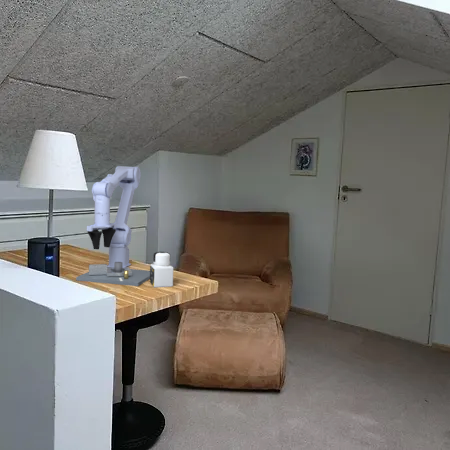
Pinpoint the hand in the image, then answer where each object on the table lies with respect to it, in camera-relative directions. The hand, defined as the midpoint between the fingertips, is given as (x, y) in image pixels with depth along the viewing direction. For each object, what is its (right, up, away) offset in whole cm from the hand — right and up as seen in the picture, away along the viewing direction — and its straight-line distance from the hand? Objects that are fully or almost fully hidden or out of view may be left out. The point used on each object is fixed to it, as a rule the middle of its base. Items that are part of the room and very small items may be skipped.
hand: (101, 248), depth 175 cm
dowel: (+12, -11, -9) cm, 18 cm away
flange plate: (+4, -10, -3) cm, 11 cm away
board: (+7, -11, -2) cm, 13 cm away
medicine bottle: (+25, -13, -10) cm, 30 cm away
